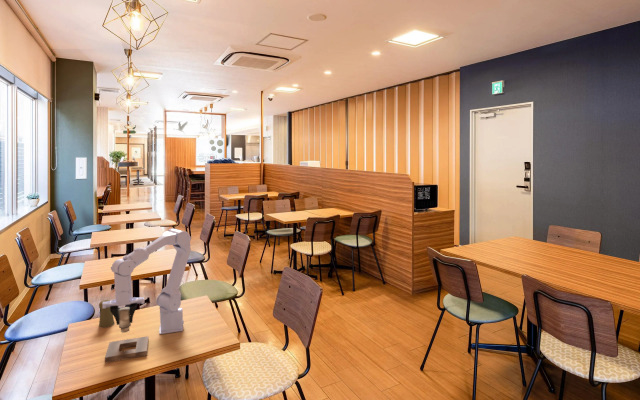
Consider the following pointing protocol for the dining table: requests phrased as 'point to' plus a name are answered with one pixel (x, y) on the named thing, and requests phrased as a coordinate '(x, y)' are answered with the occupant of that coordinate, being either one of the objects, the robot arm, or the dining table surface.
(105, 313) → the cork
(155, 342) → the dining table surface
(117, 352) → the walnut board
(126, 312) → the ash peg
